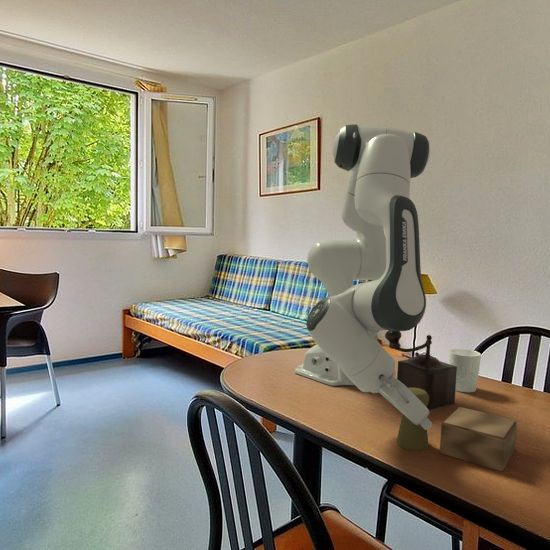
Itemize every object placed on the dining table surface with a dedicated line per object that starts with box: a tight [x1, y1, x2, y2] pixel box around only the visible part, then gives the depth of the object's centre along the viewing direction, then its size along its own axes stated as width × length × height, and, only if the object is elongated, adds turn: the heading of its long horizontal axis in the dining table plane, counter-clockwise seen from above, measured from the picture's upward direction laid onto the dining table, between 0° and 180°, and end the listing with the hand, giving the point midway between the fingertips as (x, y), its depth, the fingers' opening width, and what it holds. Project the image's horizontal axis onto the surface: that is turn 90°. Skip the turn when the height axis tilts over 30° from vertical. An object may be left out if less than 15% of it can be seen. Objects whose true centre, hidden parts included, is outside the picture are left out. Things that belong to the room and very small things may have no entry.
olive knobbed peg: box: [396, 388, 429, 452], centre depth 93 cm, size 6×6×11 cm
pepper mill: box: [384, 330, 457, 411], centre depth 117 cm, size 16×11×18 cm
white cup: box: [448, 348, 482, 393], centre depth 128 cm, size 8×8×10 cm
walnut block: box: [439, 406, 518, 472], centre depth 91 cm, size 11×11×6 cm
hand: (416, 416), depth 93 cm, fingers open, 8 cm apart
